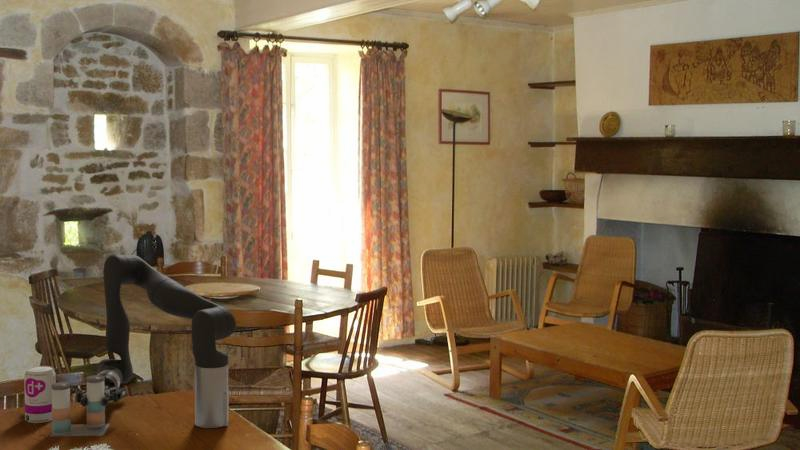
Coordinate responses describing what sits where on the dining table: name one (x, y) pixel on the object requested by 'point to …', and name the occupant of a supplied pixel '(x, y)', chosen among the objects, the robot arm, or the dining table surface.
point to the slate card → (85, 430)
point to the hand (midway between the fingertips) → (93, 402)
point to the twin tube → (61, 408)
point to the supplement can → (38, 393)
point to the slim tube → (95, 401)
